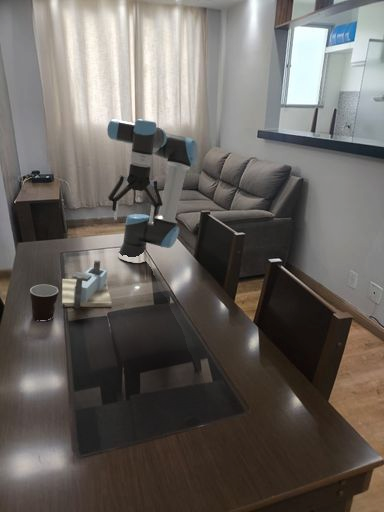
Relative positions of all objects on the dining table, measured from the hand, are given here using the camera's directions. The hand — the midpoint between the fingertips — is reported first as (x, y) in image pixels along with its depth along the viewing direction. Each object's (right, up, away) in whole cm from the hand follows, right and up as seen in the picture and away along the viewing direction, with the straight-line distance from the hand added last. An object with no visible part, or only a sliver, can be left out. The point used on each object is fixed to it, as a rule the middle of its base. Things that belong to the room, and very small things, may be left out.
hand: (133, 221), depth 137 cm
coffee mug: (-28, -34, -15) cm, 46 cm away
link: (-18, -27, +3) cm, 33 cm away
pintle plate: (-19, -29, +3) cm, 35 cm away
